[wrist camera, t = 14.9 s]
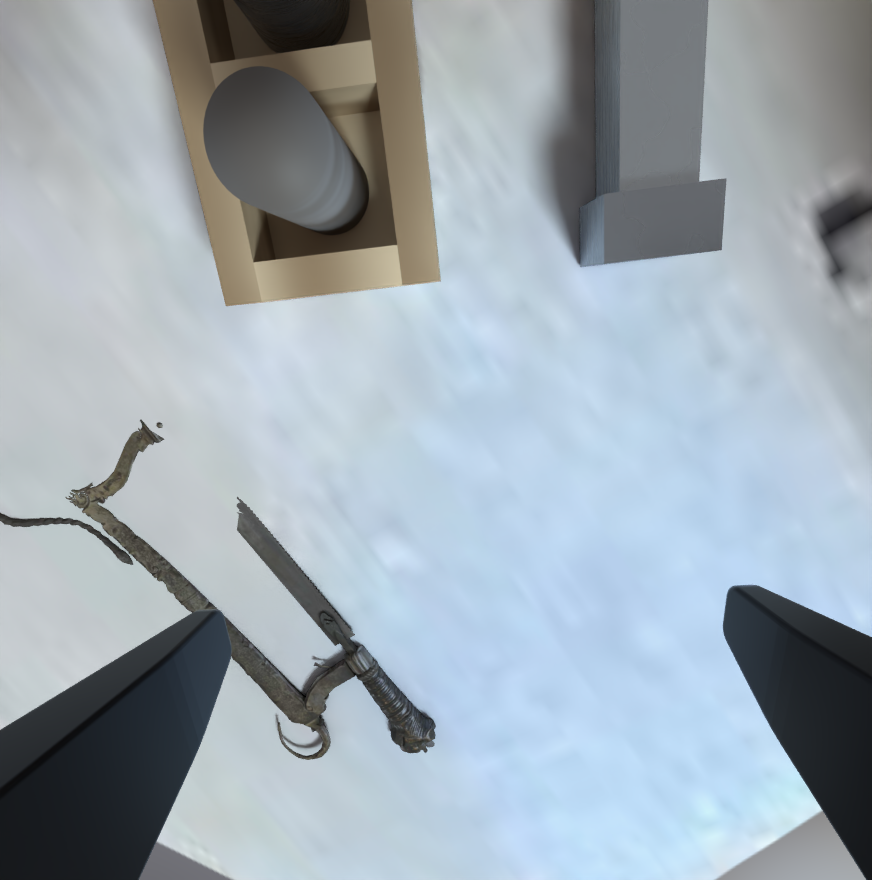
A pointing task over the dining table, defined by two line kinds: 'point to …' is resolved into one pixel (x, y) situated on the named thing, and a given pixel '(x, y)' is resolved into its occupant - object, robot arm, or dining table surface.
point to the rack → (305, 151)
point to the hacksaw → (403, 716)
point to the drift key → (650, 135)
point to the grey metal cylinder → (297, 22)
